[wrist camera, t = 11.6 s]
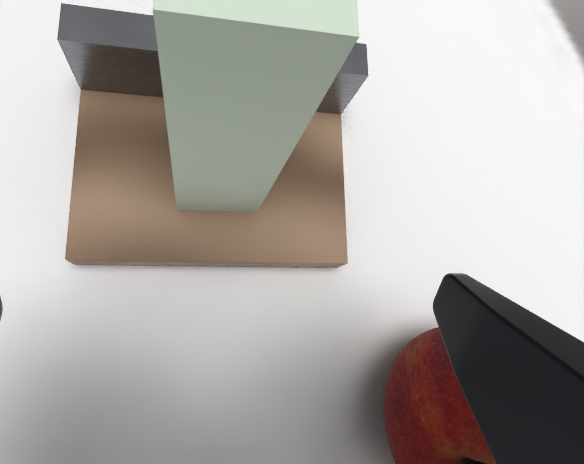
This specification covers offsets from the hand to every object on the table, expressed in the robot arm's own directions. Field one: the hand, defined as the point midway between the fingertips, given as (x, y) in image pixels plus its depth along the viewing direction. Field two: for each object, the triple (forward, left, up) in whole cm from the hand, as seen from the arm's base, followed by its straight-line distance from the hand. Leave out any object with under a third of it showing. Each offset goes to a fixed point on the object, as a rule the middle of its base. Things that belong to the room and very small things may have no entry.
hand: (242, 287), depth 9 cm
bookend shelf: (+6, +2, -11) cm, 13 cm away
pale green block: (+6, +2, -10) cm, 12 cm away
